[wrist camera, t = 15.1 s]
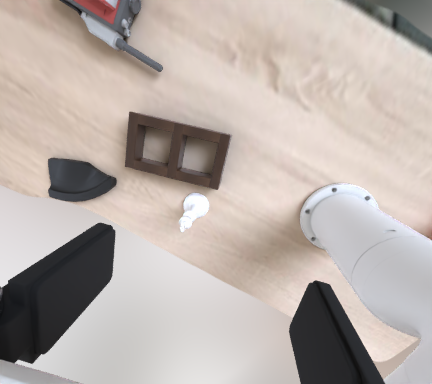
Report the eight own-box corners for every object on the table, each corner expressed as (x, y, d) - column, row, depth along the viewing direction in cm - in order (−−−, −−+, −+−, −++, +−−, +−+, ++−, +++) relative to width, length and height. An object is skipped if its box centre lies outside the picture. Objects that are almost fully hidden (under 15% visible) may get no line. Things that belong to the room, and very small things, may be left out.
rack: (231, 134, 35) (230, 135, 32) (219, 185, 38) (217, 190, 35) (138, 113, 36) (129, 111, 33) (133, 163, 39) (124, 166, 36)
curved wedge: (117, 206, 42) (112, 209, 40) (56, 195, 43) (49, 198, 41) (116, 166, 39) (111, 168, 38) (51, 156, 40) (43, 157, 39)
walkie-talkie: (54, 11, 33) (162, 78, 34) (26, -6, 29) (151, 71, 29) (69, -54, 30) (186, 21, 31) (41, -83, 26) (177, 4, 27)
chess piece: (211, 196, 38) (201, 218, 29) (206, 219, 40) (194, 247, 30) (186, 190, 39) (167, 209, 29) (181, 213, 40) (163, 238, 31)
